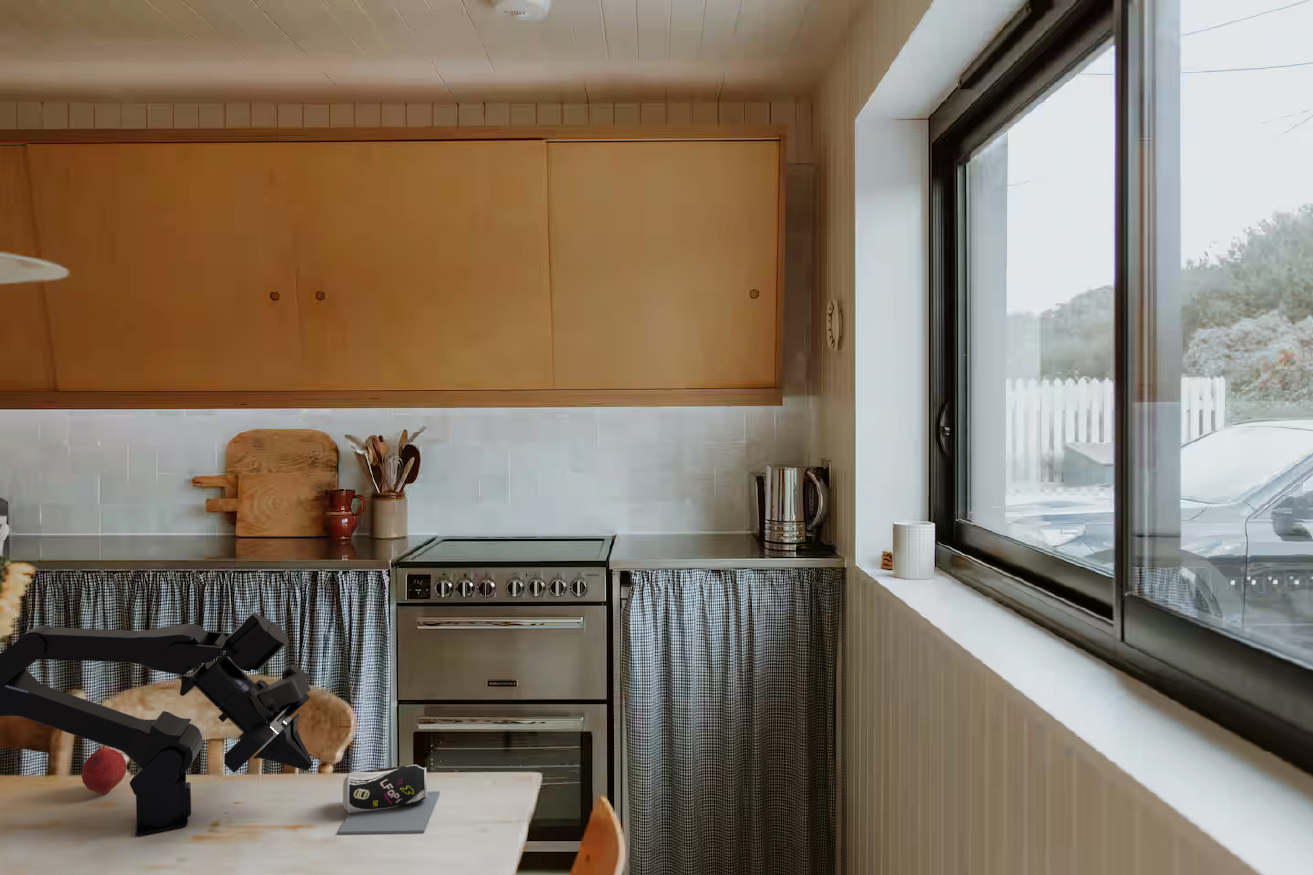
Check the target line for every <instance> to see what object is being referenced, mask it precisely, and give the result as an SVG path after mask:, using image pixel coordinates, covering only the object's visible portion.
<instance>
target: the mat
mask: <svg viewBox="0 0 1313 875" xmlns="http://www.w3.org/2000/svg"><path fill="white" fill-rule="evenodd" d="M440 793H441V792H440V791H439V790H438V791H436V790H435V791H427V799H423V800H422V801H421V802H419V803H418V804H416V805H410V806H403V807H395V808H388V809H381V810H373V811H366V812H358V813H348V815H347V817H346V819H345V820H344V822H343V824H342V825H341V827H340V828H339V830H338V835H374V834H375V833H376V834H375V835H378V833H379V835H380V834H381V835H382V834H388V835H389V834H390V835H391V834H425V832H426V830H427V827H428V824H429V822H430V818H431V816H432V814H433V812H434V809H435V806H436V804H437V802H438V799H439V796H440Z"/></svg>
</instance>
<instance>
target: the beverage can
mask: <svg viewBox="0 0 1313 875" xmlns="http://www.w3.org/2000/svg"><path fill="white" fill-rule="evenodd" d="M427 792H428V774H427V766H426V767H421V766H420V765H418V764H410V765H401V766H395V767H393V766H392V767H384V768H379V769H378V768H377V769H368V770H362V771H361V770H360V771H354V772H353V771H352V772H349V773H348V774H347V776H346V778H344V779H343V785H342V803H343V809H345V810H346V811H347V813H348V814H349V813H358V812H366V811H373V810H381V809H388V808H395V807H403V806H410V805H416V804H418V803H419V802H421V801H422V800H423V799H427Z"/></svg>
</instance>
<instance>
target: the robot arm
mask: <svg viewBox="0 0 1313 875" xmlns="http://www.w3.org/2000/svg"><path fill="white" fill-rule="evenodd" d="M289 642H290V641H289V638H288V635H287V634H286V632H285V631H284V630H283V628H281V627H280V625H279V624H277V623H276V622H274V621H271V620H270V619H268V618H267V617H264V616H260V615H259V614H258V613H257V612H255V611H253V612H252V613H251V614H249V616H248V617H247V618H246V619H245V620H244V622H243V623H242V624H241V625H240V626H238V628H237V629H235V630H234V631H233V632H232V633H230V632H222V631H212V630H205V628H203V626H201V625H200V624H195V623H184V624H183V623H182V624H175V625H166V626H162V627H156V628H152V629H146V630H145V629H144V630H126V629H125V630H122V629H121V630H120V629H103V628H101V629H95V628H75V627H54V626H50V625H45V624H44V625H37V626H35V627H32V628H31V629H30V630H29V631H27V632H24V634H22V635H21V636H19V637H18V639H17V641H15V642H14V643H13V644H12V645H10V646H9V647H7V648H6V649H4V650H3V651H2V652H0V717H18V718H22V719H26V720H29V721H32V722H34V723H37V724H41V725H44V726H46V727H49V728H53V729H54V730H55V729H56V730H57V731H61V732H64V733H67V734H69V735H73V736H76V737H78V738H83V739H85V740H88V741H90V742H94V743H97V744H99V745H102V744H103V745H106V746H108V747H109V748H111V749H114V750H116V751H117V750H118V751H119V752H120V751H121V752H123V753H124V754H125V755H126V756H127V757H129V758H130V759H131V761H133V763H135V764H136V766H138V767H139V769H138V770H136V773H135V774H134V775H133V776H132V778H131V780H130V781H129V785H130V788H131V790H132V792H133V794H134V796H135V808H136V810H135V811H136V812H135V813H136V814H135V815H136V817H135V818H136V819H135V820H136V821H135V830H134V835H135V837H140V836H145V835H151V834H155V833H160V832H164V831H169V830H170V831H171V830H174V829H179V828H184V827H186V826H188V825H189V824H188V822H189V820H188V817H189V818H190V816H191V815H192V797H191V796H192V794H191V793H192V789H191V784H192V783H191V782H190V781H187V775H186V774H187V771H188V769H190V768H191V765H192V764H193V762H194V761H195V759H196V757H197V755H198V754H199V752H200V750H201V748H202V746H203V736H202V732H201V729H200V728H199V727H197V726H196V725H194V724H193V723H191V721H192V719H191V718H184V717H183V718H182V717H179V716H176V715H175V714H173V713H171V712H169V711H166V710H162V712H160V714H159V716H158V717H157V718H156V719H144V718H142V719H141V718H139V717H136V716H134V715H130V714H127V713H124V712H122V711H118V710H116V709H113V708H110V707H108V706H104V705H102V704H99V703H96V702H93V701H90V700H88V699H85V698H81V697H79V696H76V695H73V694H71V693H67V692H64V691H62V690H58V689H56V688H53V687H50V686H47V685H44V684H43V683H42V682H41V683H40V682H39V680H37V679H36V677H34V676H33V675H32V673H30V672H29V670H28V667H30V666H31V665H32V664H34V663H35V662H36V661H38V660H52V661H54V660H57V661H76V662H77V661H78V662H79V661H82V662H110V663H132V664H136V665H140V666H143V667H145V668H147V669H149V670H153V671H156V672H157V671H158V672H161V673H162V672H164V673H168V674H172V675H182V674H183V675H182V676H180V681H181V682H180V683H181V684H180V690H179V695H180V696H182V697H184V696H186V695H187V694H189V693H190V692H192V691H193V690H194V689H195V688H197V689H198V691H200V693H202V694H203V696H204V697H205V698H206V699H208V701H210V702H211V703H212V704H213V706H215V708H216V709H218V710H219V711H220V713H221V714H220V715H219V716H218V717H217V718H218V719H219V720H220V721H221V722H222V723H224V722H225V721H226V720H229V721H231V722H230V723H232V724H233V725H235V727H236V728H237V729H238V730H240V732H241V733H242V734H241V735H239V736H238V739H239V740H238V741H237V742H236V743H235V744H234V745H233V746H232V747H231V748H230V749H229V750H228V751H226V753H225V754H224V756H223V758H224V760H223V761H224V762H223V763H224V765H225V766H226V767H227V768H228V769H229V770H230V771H231V772H232V773H233V774H234V773H236V772H237V771H238V770H240V768H241V767H243V766H244V764H246V762H248V761H249V760H250V759H251V758H252V757H253V759H254V760H257V759H261V760H267V761H271V762H275V763H279V764H283V765H286V766H289V767H292V768H296V769H299V770H303V771H308V770H310V768H311V767H312V766H313V765H314V763H313V761H312V758H311V756H310V754H309V753H308V750H307V749H306V746H305V744H304V742H303V740H302V737H301V736H300V733H299V730H298V725H299V718H300V716H301V715H300V712H299V713H297V714H296V715H295V716H294V717H293V718H292V717H291V716H292V715H293V714H294V713H295V712H297V710H299V709H300V708H301V707H302V706H304V704H305V703H307V702H308V701H309V699H311V696H310V695H308V694H307V692H308V693H309V692H311V690H312V688H311V687H310V685H309V683H308V681H307V680H308V679H309V678H310V675H309V673H307V672H305V670H304V669H301V668H300V667H299V666H297V665H296V664H294V665H291V666H288V667H286V668H285V669H284V670H283V671H282V674H281V678H280V679H278V680H276V681H275V682H273V683H271V684H268V683H267V682H266V681H265V680H263V679H262V680H261V679H258V680H257V681H256V682H255V681H254V680H253V679H251V678H250V676H249V675H248V674H247V673H246V672H249V673H250V672H251V671H252V670H253V671H255V672H256V671H257V672H258V671H260V670H261V669H262V668H264V666H265V665H267V663H268V662H270V660H272V659H273V658H274V657H275V656H276V655H277V654H278V653H279V652H281V650H282V649H283V648H284V647H286V646H287V645H288V644H289ZM223 652H225V653H224V654H223V655H222V653H223ZM220 655H222V656H220ZM219 656H220V657H219ZM218 657H219V659H217V658H218ZM215 659H217V660H216V661H215ZM198 665H200V666H199V668H197V669H196V670H195V671H194V672H193V673H190V671H192V670H193V669H194V668H196V667H197V666H198ZM244 671H245V672H244Z"/></svg>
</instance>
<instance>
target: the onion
mask: <svg viewBox="0 0 1313 875" xmlns="http://www.w3.org/2000/svg"><path fill="white" fill-rule="evenodd" d="M126 762H127V761H126V760H125V757H124V756H123V755H122V754H121V753H120V751H119V750H118V751H117V749H114V748H111V747H108V746H106V745H103V744H100V746H99V747H98V749H97V750H96V751H95V752H93V753H92V754H91V755H90V756H89V757H88V758H87V759H86V761H85V763H84V764H83V766H82V770H81V780H82V783H83V785H84V786H85V787H86V788H87V789H89V790H90V791H92V792H95V793H97V794H101V795H107V794H109V793H110V792H111V791H112V790H113V789H114V788H115V787H117V786H118V785H119V784H120V783H121V782H122V780H123V779H124V777H125V776H126V773H127V763H126Z"/></svg>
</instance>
